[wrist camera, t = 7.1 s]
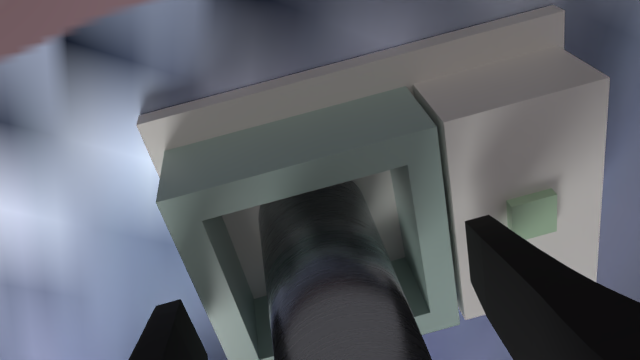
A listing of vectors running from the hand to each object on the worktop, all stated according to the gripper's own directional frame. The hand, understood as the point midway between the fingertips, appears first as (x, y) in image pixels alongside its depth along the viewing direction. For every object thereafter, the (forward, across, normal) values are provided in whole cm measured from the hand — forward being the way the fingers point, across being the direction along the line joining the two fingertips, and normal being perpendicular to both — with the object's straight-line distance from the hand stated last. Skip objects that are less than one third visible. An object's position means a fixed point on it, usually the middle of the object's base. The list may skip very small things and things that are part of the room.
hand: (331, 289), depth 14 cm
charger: (+4, -2, 0) cm, 4 cm away
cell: (+3, 0, 0) cm, 3 cm away
